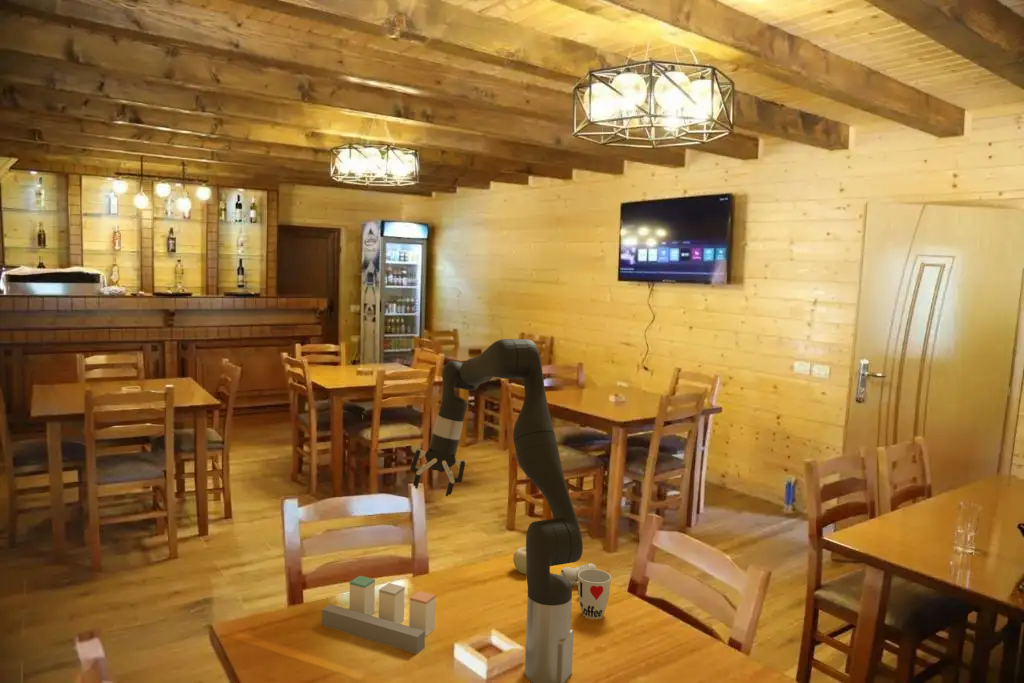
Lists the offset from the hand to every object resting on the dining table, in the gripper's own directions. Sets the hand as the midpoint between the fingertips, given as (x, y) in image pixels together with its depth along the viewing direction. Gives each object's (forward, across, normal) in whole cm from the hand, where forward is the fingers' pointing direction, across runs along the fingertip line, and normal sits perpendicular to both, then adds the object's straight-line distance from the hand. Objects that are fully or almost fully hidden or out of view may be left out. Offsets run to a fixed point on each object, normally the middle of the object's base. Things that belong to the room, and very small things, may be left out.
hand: (431, 491), depth 192 cm
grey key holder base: (+27, -2, -27) cm, 38 cm away
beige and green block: (+27, -9, -22) cm, 36 cm away
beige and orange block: (+24, +6, -30) cm, 39 cm away
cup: (+15, +46, -19) cm, 53 cm away
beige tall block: (+25, -2, -26) cm, 36 cm away
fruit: (+17, +32, +6) cm, 36 cm away
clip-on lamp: (+16, +42, -6) cm, 46 cm away
